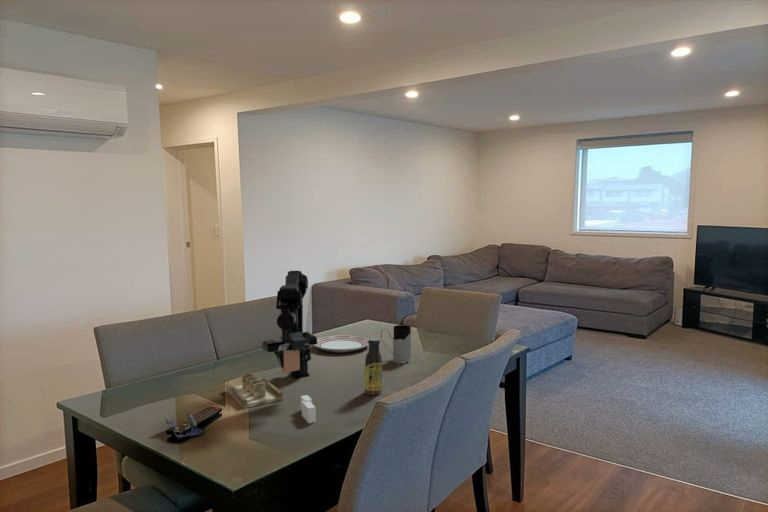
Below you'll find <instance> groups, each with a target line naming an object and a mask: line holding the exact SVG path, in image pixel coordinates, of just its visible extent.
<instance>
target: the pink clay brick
mask: <svg viewBox="0 0 768 512" xmlns="http://www.w3.org/2000/svg"><path fill="white" fill-rule="evenodd" d="M283 363H284V367H283V368H281V372H282V373H289V372H292V371H297V370H300V351H299V350H297V349H296V350H290V351H287V350H285V351H284V352H283Z"/></svg>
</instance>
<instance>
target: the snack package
mask: <svg viewBox="0 0 768 512" xmlns="http://www.w3.org/2000/svg"><path fill="white" fill-rule="evenodd" d="M184 415H185V416H186V415H187V416H186V417H187V418H188V419H189V423H190V424H189V425H190V426H191V428H192V429H191V431H190V432H189V433H188V432H186V433H185V434H186V435H177V434H176V433H175V426H176V425H177V424H178V423H175V421H174V420H173V421H172V422H171V421H169V420H168V419H167V418H164V419H165V422H166V424H167V425H168V427H169V428H170V430H171V431H172V432H173V433H174V435H175V437H176V439H177V440H178V441H180V439H183V438H185V437H190V439H192V438H197V437H199V436H202V435H205V433H206V431H205V428H204V427H201V426H198V425H197V422H196V419H195V418H194V416H193V415H192V414H191V413H190V412H189V413H187V414H184Z"/></svg>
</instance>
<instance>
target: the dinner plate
mask: <svg viewBox="0 0 768 512" xmlns="http://www.w3.org/2000/svg"><path fill="white" fill-rule="evenodd" d="M368 341H369V339H368V338H365V337H362V336H356V335H346V334H345V335H330V336H329V335H328V336H323V337H318V338H317V344H314V345H313V346H315V348H318V349H320V350H323V351H325V350H326V352H329V351H330V352H329V353H349V351H351V352H355V351H354V350H356V351H358V350H360V349H363V348H365V347H366V346H369V343H368Z"/></svg>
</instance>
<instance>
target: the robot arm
mask: <svg viewBox="0 0 768 512" xmlns="http://www.w3.org/2000/svg"><path fill="white" fill-rule="evenodd" d="M302 272H303V271H301V270H289V271H287V275H286V276H285V284H284V285H281V287H279V290H278V291H277V295H276V307H275V309H276V310H280V314H279V315H278V316H277V319H276V325H277V326H278V328H280V330H281V336H280V337H279V339H280V341H276V340H275V339H269V340H267V339H266V340H264V341H263V342H262V343H261V348H262V350H263V351H264V352H267V353H273V354H274V355H275V356H276V359H277V362H278V364H279V366H280V368H281V369H282V368H283V367H284V363H283V352H285V351H284V350H283V348H282V347H286V351H290V350H296V349H297V350H299V351H300V370H297V371H292V372H288V375H289V376H290V377H292V378H294V379H298V378H302V377H308V376H310V373H309V372H308V371H309V370H308V369H309V368H308V367H309V366H308V362H309V361H312V353H311V349H310V347H311V346H314V344H317V339H318V338H317V336H316V335H313V334H311V333H310V332H309V331H304V300H303V299H304V297H305V296H306V293H307V290H308V289H309V279H308V276H307V275H305V274H304V273H302Z"/></svg>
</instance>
